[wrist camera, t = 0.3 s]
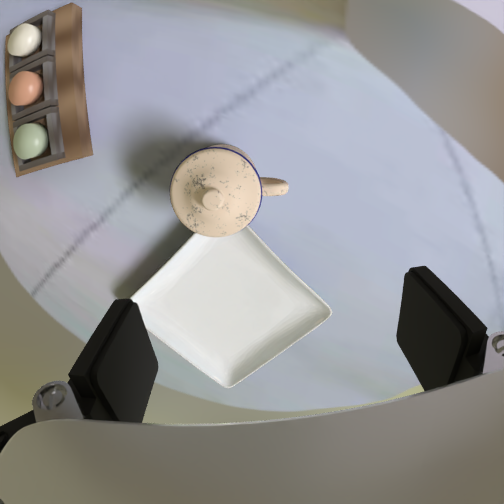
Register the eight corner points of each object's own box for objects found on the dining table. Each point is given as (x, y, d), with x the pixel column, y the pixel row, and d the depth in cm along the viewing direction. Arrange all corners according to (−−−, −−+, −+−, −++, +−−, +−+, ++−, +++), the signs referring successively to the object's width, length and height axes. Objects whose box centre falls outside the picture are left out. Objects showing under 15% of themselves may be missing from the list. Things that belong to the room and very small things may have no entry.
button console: (17, 38, 29) (-3, 34, 24) (81, 8, 28) (64, -2, 24) (28, 173, 37) (8, 180, 33) (93, 154, 37) (75, 160, 32)
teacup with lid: (187, 214, 40) (165, 249, 30) (184, 143, 37) (158, 151, 26) (281, 214, 40) (294, 249, 30) (283, 142, 37) (298, 149, 26)
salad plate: (226, 196, 39) (224, 202, 36) (331, 301, 46) (336, 314, 42) (127, 297, 45) (119, 309, 42) (229, 376, 51) (228, 391, 48)
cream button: (18, 34, 25) (8, 31, 23) (42, 21, 25) (32, 17, 23) (18, 62, 27) (7, 60, 25) (42, 49, 27) (32, 47, 25)
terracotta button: (18, 79, 28) (7, 78, 26) (42, 67, 28) (32, 65, 26) (20, 109, 30) (9, 110, 27) (44, 99, 30) (34, 98, 27)
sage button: (22, 128, 31) (11, 129, 28) (46, 118, 31) (35, 119, 28) (26, 160, 32) (16, 163, 30) (51, 152, 32) (40, 154, 30)
